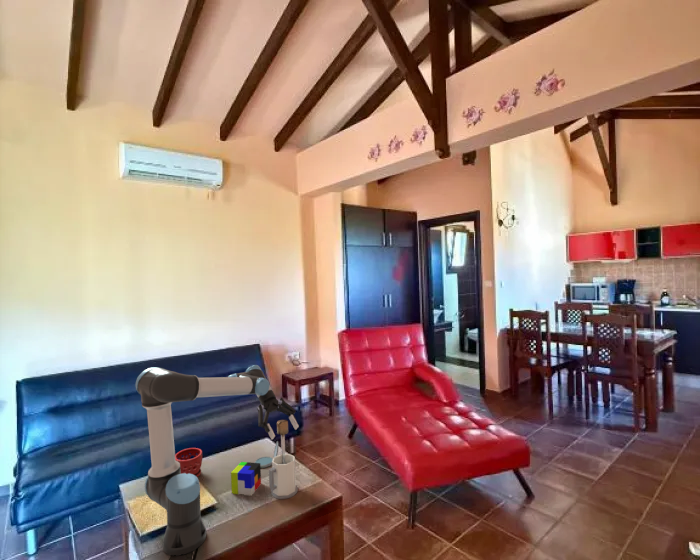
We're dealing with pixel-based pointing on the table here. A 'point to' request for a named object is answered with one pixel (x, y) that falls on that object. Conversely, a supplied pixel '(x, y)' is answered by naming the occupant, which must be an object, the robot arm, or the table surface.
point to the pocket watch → (267, 459)
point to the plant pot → (190, 461)
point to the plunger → (282, 436)
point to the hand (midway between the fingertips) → (285, 432)
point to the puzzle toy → (246, 478)
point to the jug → (283, 477)
